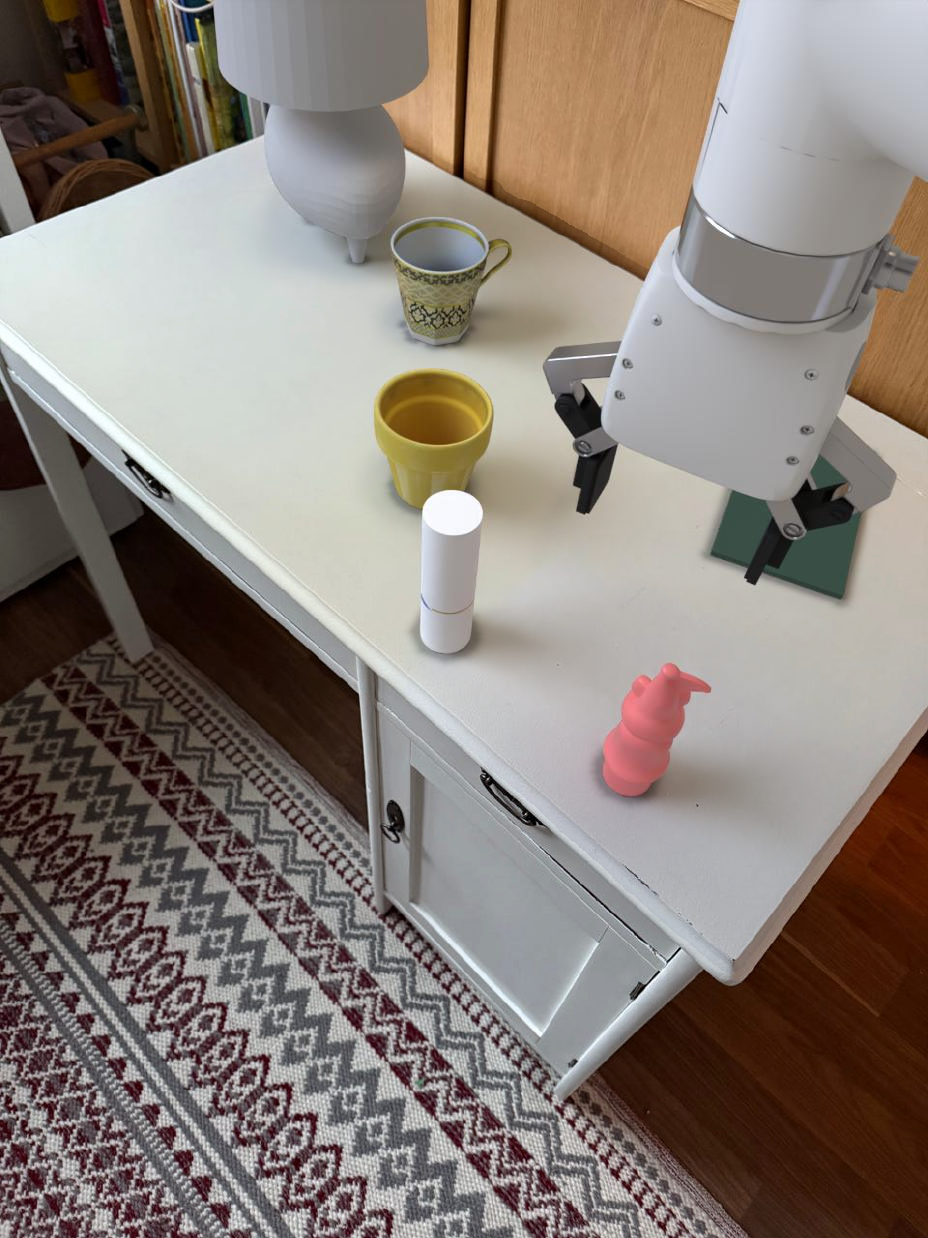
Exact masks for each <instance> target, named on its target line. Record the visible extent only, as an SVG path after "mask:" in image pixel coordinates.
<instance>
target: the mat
mask: <svg viewBox="0 0 928 1238" xmlns="http://www.w3.org/2000/svg"><path fill="white" fill-rule="evenodd" d="M873 451H874V452H875V453H876V451H875V450H873ZM810 474H811V476H812V478H813V480H814V483H815V485H816V487H817V489H819V488H823V487H827V486H831V485H835V484H839V483H847V482H848V481H847V480H846V479H845V478H844V477H843V476H842V475H841V474H840V473H839V472H838V471H837V470H835V469H834V468H833V467H832V466H831V465H830V464H829V463H828V462H827V461H826V460H825V459H824V458H823V457H822V456H821V455H820V454H819V456H818V458H817V460H816V462H815V464H814V466H813V468H812V469H811V471H810ZM861 516H862V512H861V513H860V512H858V513H856V514H854V515H853V516H851V519H850V520H849V521H848V522H846V523H844V524H839V525H834V526H829V527H825V528H820V529H815V530H810V531H806V534H805V536H804V537H803V538H801V539H799V540H794V541H793V543H792V545H791V547H790V549H789V551H788V552H787V554H786V556H785V558H784V560H783V562H782V564H781V566H780V568H779V569H776V568H773V567H771V566H768V565H766V566H765V568H764V570H763V572H762V573H763V574H765V575H768V576H771V577H774V578H777V579H780V580H783V581H786V582H789V583H791V584H794V585H797V586H800V587H803V588H806V589H810V590H813V591H814V592H815V591H816V592H818V593H821V594H823V595H827V596H829V597H833V598H835V599H839V600H842V599H843V597H844V596H845V595H844V594H845V590H846V587H847V580H848V576H849V572H850V568H851V562H852V558H853V553H854V549H855V544H856V541H857V540H856V539H857V536H858V531H859V527H860V526H859V525H860V520H861ZM771 517H772V513H771V511H770V509H769V507H768V505H767V503H766V501H765V500H763V499H758V498H755V497H752V496H749V495H746V494H743V493H740V492H737V491H735V490H732V489H731V492H730V495H729V498H728V501H727V503H726V506H725V509H724V512H723V515H722V519H721V521H720V524H719V526H718V527H719V528H718V531H717V533H716V536H715V539H714V541H713V544H712V547H711V551H710V554H709V555H710V556H712V557H716V558H718V559H721V560H723V561H724V560H725V561H728V562H730V563H733V564H736V565H738V566H741V567H744V568H745V567H746V568H747V569H748V567H749V565H750V562H751V560H752V558H753V556H754V553H755V551H756V549H757V547H758V544H759V542H760V540H761V538H762V536H763V534H764V532H765V530H766V528H767V526H768V524H769V521H770V519H771Z"/></svg>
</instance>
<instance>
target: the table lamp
mask: <svg viewBox="0 0 928 1238" xmlns="http://www.w3.org/2000/svg"><path fill="white" fill-rule="evenodd" d="M212 5H213V16H214V27H215V29H214V30H215V39H216V49H217V62H218V69H219V71H220V74H221V75H222V77H223V78H224V79H225V80H226V82H228V84H229V85H230V86H232V87H233V88H234V89H236V90H237V91H238V92H240V93H242V94H244V95H246V96H247V97H249V98H252V99H255V100H257V101H260V102H261V103H262V102H263V103H265V104H269V105H270V106H269V109H268V112H267V115H266V119H265V123H264V132H263V145H264V155H265V162H266V165H267V169H268V172H269V175H270V178H271V180H272V182H273V185H274V186H275V188H276V190H277V191H278V193H279V194H280V196H281V197H282V199H283V200H284V201H285V202H286V203H287V204H288V205H289V207H290V208H292V210H294V211H295V212H296V213H297V214H298V215H299V216H301V217H302V218H303V219H304V220H307V221H308V222H310V223H311V224H313V225H315V226H317V227H319V228H320V229H323V230H325V231H328V232H329V233H333V234H334V235H338V236H341V237H344V238H346V243H347V245H348V248H349V254H350V257H351V260H352V262H353V263H355V264H362V263H364V262H365V257H366V250H367V243H368V239H369V238H373V237H375V236H377V235H378V234H379V233H381V232H382V230H384V229H385V228H386V227H387V225H388V224H389V222H390V221H391V219H392V218H393V216H394V215H395V213H396V211H397V208H398V206H399V204H400V201H401V199H402V195H403V192H404V191H403V190H404V186H405V182H406V181H405V180H406V172H407V171H406V169H407V168H406V166H407V165H406V162H407V161H406V160H407V159H406V151H405V145H404V141H403V137H402V134H401V133H400V130H399V128H398V126H397V123H396V122H395V120H394V119H393V117H392V116H391V115H390V113H389V112H388V111H387V109H386V108H385V107H384V106H383V105H384V104H388V103H391V102H393V101H397V100H398V99H400V98H402V97H405V96H406V95H408V94H410V93H411V92H413V91H414V90H416V89H417V88H418V87H419V86H420V85H421V84H422V83H423V82H424V80H425V79H426V77H427V76H428V73H429V70H430V54H429V52H430V51H429V36H428V35H429V32H428V15H427V13H428V12H427V0H212Z"/></svg>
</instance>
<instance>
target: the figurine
mask: <svg viewBox="0 0 928 1238" xmlns="http://www.w3.org/2000/svg"><path fill="white" fill-rule="evenodd" d="M693 692H695V693H696V692H698V693H705V694H711V692H712V686H710V685H709V684H708V683H707V682H706V681H704V680H703V679H701V678H699V677H697V676H694V675H692V674H689V673H687V672H684V671H682V670H681V669H680V668H679V667H678V666H677V665H676V664H674V663H672V662H667V663H666V662H665V663H664V664H663V665H662V666H661V667H660V672H659V673H658V674H657V675H656V676H655V677H654V678H653V679H651V678H650V677H648V675H645V674H640V675H639V676H637V677H636V678H635V679H634V681H633V682H632V684H631V686H630V691H628V692H627V693H626V695H625V696H624V699H623V701H622V704H621V709H620V713H621V714H620V715H621V720H620V721H619V723H618V724H617V725H616V726H615V727H614V728H613V729H611V730H610V731H609V733H608V734H607V735H606V737H605V739H604V742H603V746H602V753H603V758H604V762H603V764H602V776H603V779H604V781H605V783H606V785H607V786H608V787H609V788H610V789H611V790H612V791H613V792H615V793H616V794H618V795H621V796H623V797H638V796H641V795H642V794H644V793H646V792H647V791H648V790H649V788H650V787H651V785H652V783H654V782H656V781H657V780H659V779H660V778H662V777H663V775H664V774H665V773H666V771H667V770H668V768H669V765H670V762H671V754H670V753H671V752H670V749H671V748H672V745H673V742H674V739H675V738H676V737H677V736H678V735H679V734H680V733H681V731H682V729H683V727H684V724H685V719H686V712H685V711H686V710H685V706H686V705H688V704H689V703H690V701H691V698H692V697H691V696H692V693H693Z"/></svg>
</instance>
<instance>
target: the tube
mask: <svg viewBox="0 0 928 1238" xmlns="http://www.w3.org/2000/svg"><path fill="white" fill-rule="evenodd" d="M421 513H422V515H421V517H422V519H421V560H420V561H421V567H420V572H421V573H420V575H421V576H420V619H419V622H420V623H419V630H420V631H419V635H420V639H421V641H422V642H423V644H424V645H425V647H427V648H428V649H429V650H431V651H433V652H435V653H439V654H453V653H457V652H459V651H461V650H462V649H464V648H466V646H467V645H468V644H469V643H470V640H471V638H472V627H473V617H474V607H475V597H476V589H477V588H476V586H477V578H478V567H479V560H480V559H479V557H480V548H481V539H482V538H481V537H482V529H483V527H482V526H483V518H484V511H483V507H482V504H481V503H480V502H479V500H478V499H477V498H476V497H475V496H473V495H471V493H468V492H465V491H464V492H462V491H457V490H446V491H441V492H438V493H436V494H434V495H432V496H431V497H430V498H429V499H427V501H426V502H425V504H424V506H423V509H422V512H421Z"/></svg>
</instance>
